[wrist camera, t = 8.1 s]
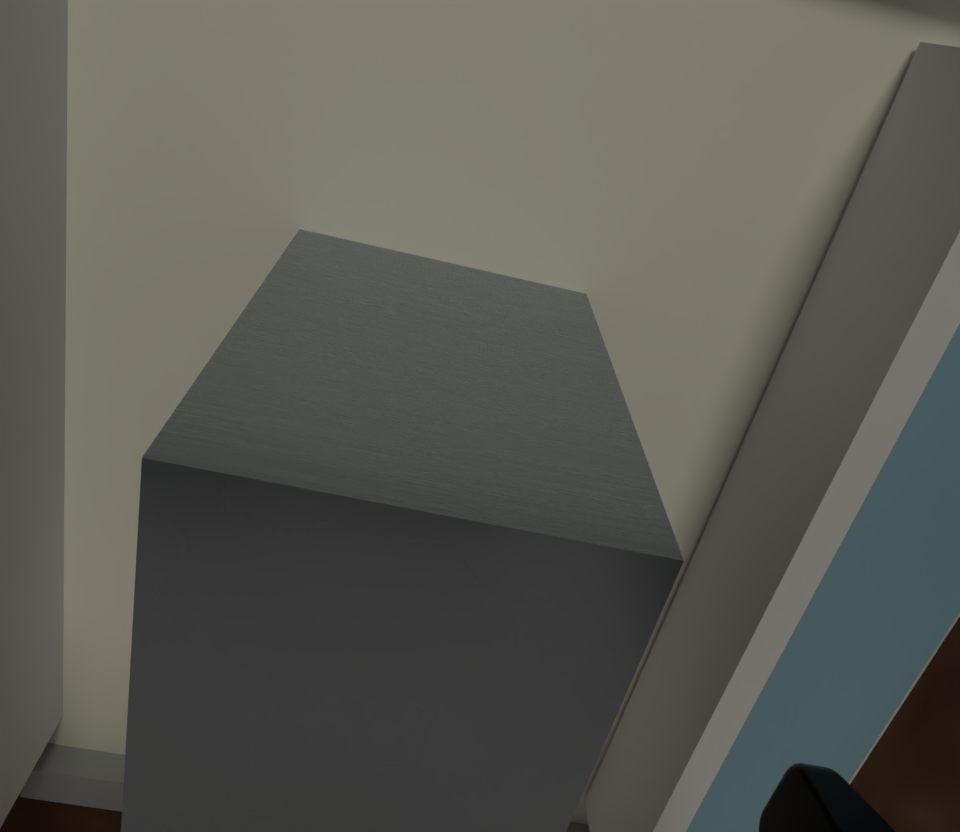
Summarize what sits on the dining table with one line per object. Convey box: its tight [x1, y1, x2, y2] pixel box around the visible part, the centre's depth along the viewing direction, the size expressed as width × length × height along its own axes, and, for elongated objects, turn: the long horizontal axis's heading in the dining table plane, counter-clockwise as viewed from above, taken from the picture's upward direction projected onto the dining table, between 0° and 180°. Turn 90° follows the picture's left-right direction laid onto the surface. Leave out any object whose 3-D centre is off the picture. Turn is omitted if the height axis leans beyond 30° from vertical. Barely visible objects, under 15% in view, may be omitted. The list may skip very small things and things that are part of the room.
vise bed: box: [0, 0, 960, 832], centre depth 12 cm, size 19×18×4 cm
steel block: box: [121, 229, 684, 832], centre depth 10 cm, size 4×6×6 cm, turn 167°
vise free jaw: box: [585, 42, 960, 832], centre depth 12 cm, size 2×14×2 cm, turn 167°
